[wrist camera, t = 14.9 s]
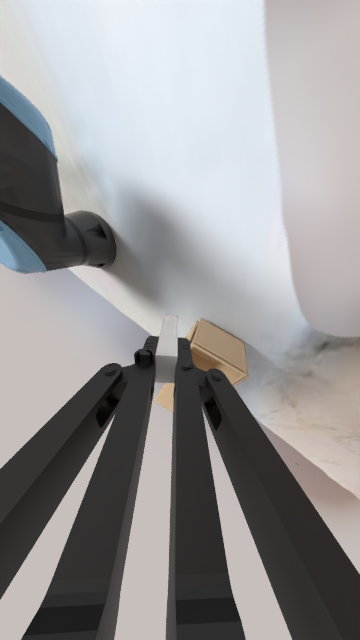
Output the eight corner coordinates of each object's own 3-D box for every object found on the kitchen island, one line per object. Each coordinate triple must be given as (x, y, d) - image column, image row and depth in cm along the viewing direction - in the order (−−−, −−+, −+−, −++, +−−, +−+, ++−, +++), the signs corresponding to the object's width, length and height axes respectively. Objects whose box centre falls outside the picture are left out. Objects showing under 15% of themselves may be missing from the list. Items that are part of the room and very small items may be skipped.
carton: (180, 344, 53) (167, 370, 43) (200, 314, 43) (190, 338, 32) (218, 367, 53) (215, 398, 42) (247, 341, 42) (253, 375, 32)
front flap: (171, 373, 43) (155, 400, 45) (171, 374, 43) (154, 401, 45) (210, 396, 43) (191, 422, 45) (210, 397, 42) (191, 423, 44)
